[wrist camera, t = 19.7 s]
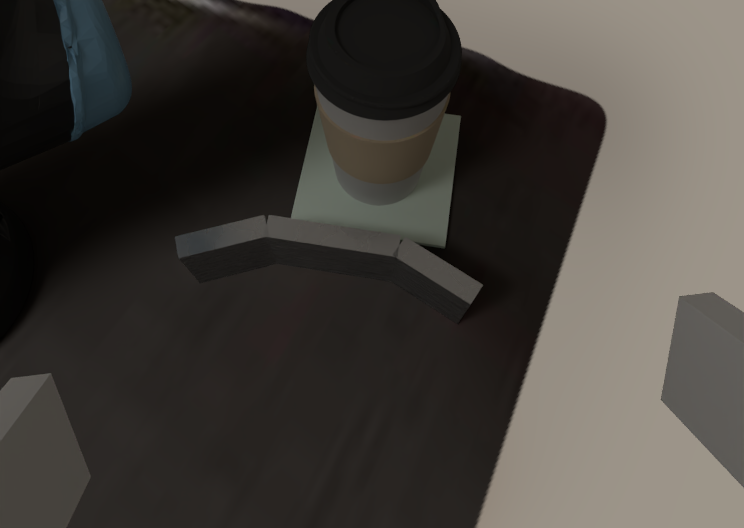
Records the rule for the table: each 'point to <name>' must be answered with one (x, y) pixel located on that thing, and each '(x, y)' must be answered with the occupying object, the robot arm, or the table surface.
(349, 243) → the bent rail
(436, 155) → the mat
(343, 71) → the coffee cup
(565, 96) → the table surface
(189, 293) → the table surface
